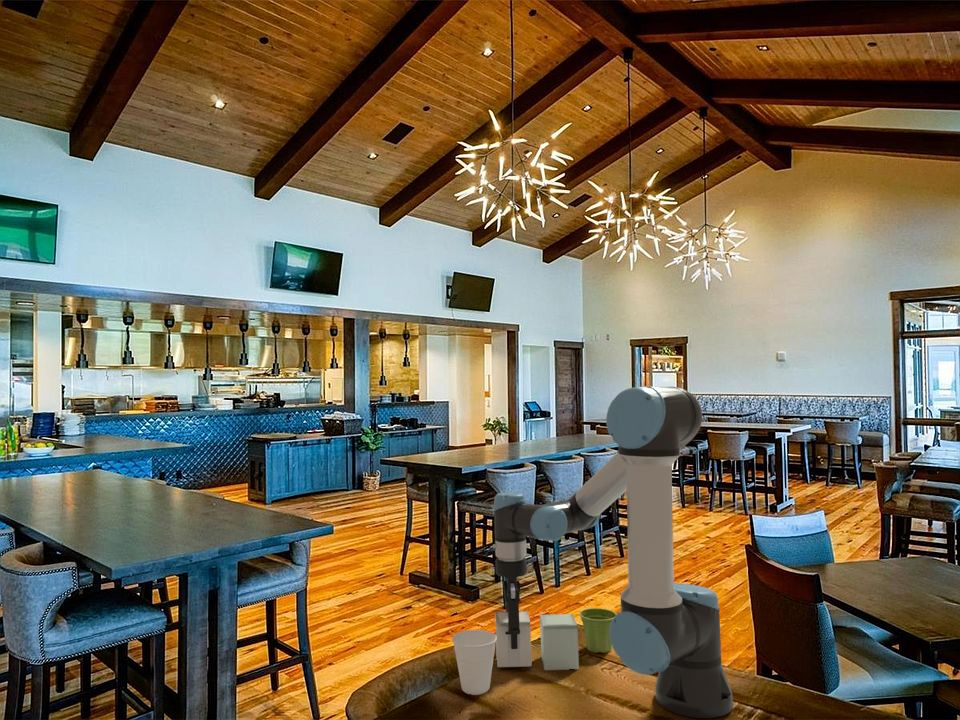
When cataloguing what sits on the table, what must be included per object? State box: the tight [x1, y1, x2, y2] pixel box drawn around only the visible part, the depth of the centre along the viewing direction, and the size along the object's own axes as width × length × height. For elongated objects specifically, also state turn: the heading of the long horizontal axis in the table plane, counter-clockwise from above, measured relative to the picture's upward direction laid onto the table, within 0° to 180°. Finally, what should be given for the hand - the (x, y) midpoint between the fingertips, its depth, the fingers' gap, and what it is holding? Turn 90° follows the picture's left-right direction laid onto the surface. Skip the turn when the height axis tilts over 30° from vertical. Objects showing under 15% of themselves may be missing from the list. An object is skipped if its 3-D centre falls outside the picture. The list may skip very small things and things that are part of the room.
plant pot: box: [578, 607, 618, 654], centre depth 159 cm, size 9×9×9 cm
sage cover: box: [539, 613, 580, 671], centre depth 151 cm, size 8×8×10 cm
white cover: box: [494, 610, 533, 668], centre depth 151 cm, size 8×8×10 cm
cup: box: [451, 629, 497, 696], centre depth 138 cm, size 10×10×11 cm
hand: (513, 654), depth 151 cm, fingers closed on white cover, 8 cm apart
